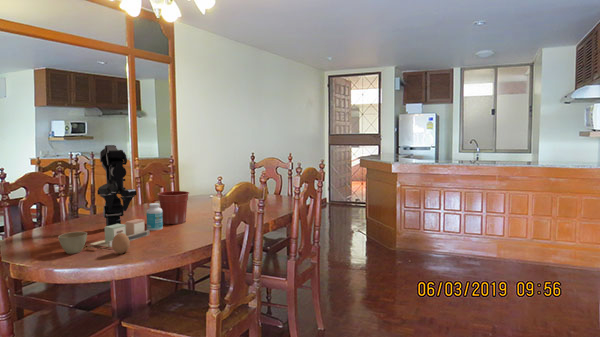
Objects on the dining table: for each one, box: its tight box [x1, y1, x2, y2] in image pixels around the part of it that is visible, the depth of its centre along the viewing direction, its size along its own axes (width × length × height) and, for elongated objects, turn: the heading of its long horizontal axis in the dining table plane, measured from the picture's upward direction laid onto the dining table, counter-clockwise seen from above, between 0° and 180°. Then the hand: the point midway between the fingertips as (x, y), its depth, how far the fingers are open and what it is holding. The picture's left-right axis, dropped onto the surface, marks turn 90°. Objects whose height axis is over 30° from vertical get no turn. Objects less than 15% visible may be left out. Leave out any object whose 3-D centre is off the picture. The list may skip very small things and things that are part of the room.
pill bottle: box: [146, 202, 164, 231], centre depth 196 cm, size 8×7×14 cm
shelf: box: [89, 229, 151, 251], centre depth 175 cm, size 12×22×3 cm, turn 157°
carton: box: [124, 218, 146, 236], centre depth 181 cm, size 5×7×7 cm
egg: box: [111, 233, 131, 255], centre depth 158 cm, size 6×6×8 cm
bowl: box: [58, 231, 88, 255], centre depth 160 cm, size 10×10×7 cm
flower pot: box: [156, 190, 190, 225], centre depth 216 cm, size 16×16×16 cm
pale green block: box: [104, 223, 126, 244], centre depth 171 cm, size 5×7×7 cm
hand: (117, 210), depth 186 cm, fingers open, 9 cm apart
